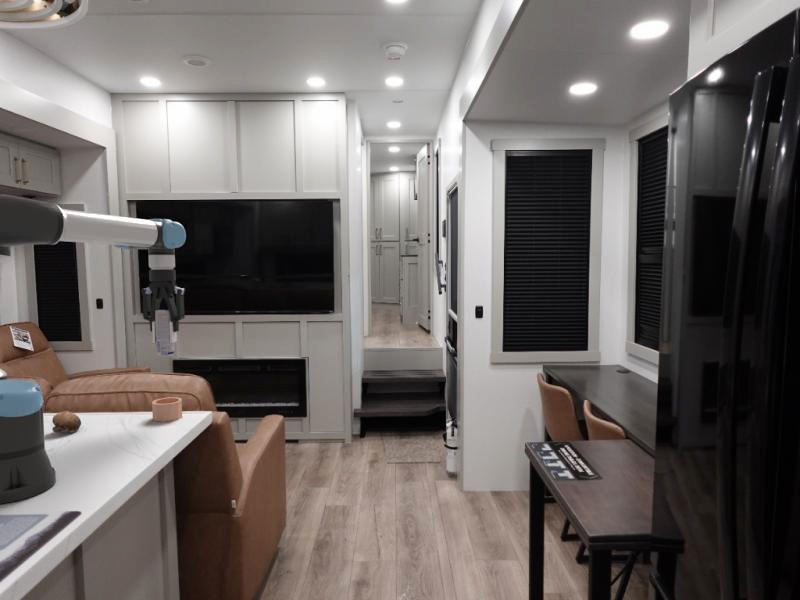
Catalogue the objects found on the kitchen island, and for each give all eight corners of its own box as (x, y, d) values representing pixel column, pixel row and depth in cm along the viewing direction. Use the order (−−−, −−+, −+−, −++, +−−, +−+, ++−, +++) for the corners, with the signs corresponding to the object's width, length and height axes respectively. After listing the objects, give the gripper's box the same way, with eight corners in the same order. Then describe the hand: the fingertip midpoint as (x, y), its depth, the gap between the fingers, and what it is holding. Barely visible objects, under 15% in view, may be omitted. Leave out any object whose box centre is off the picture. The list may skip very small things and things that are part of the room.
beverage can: (177, 355, 167) (175, 309, 166) (168, 358, 162) (167, 310, 161) (162, 355, 168) (160, 309, 167) (153, 357, 163) (151, 310, 162)
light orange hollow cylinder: (173, 422, 162) (172, 404, 161) (147, 421, 163) (146, 404, 162) (187, 414, 170) (186, 397, 170) (162, 413, 171) (161, 397, 171)
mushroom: (39, 423, 150) (53, 405, 151) (63, 426, 158) (76, 409, 158) (53, 440, 147) (67, 421, 148) (77, 442, 154) (90, 424, 155)
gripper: (195, 268, 166) (197, 340, 168) (142, 268, 168) (145, 339, 169) (183, 268, 158) (185, 344, 160) (127, 268, 160) (130, 343, 162)
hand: (164, 341), depth 165 cm, fingers closed on beverage can, 5 cm apart
